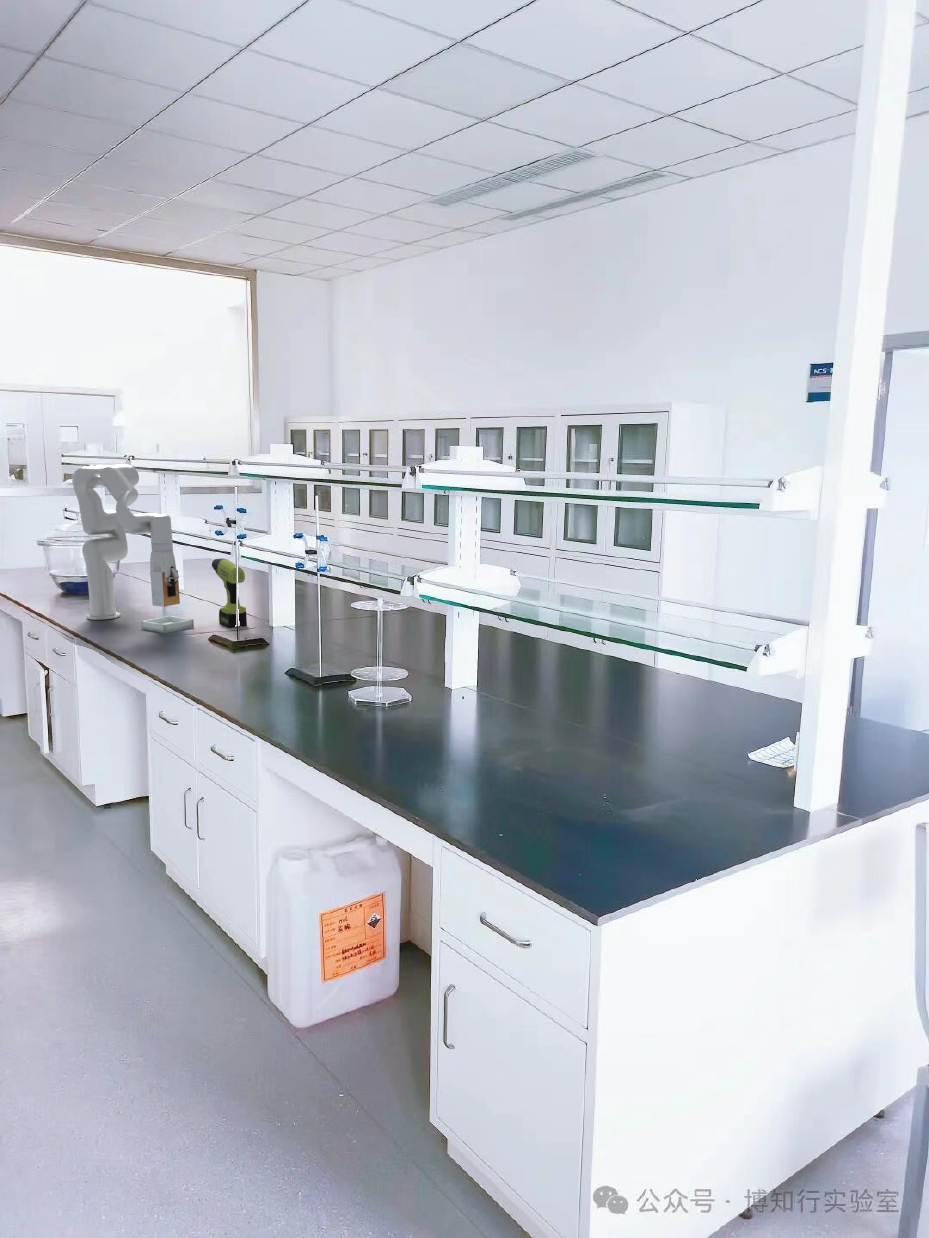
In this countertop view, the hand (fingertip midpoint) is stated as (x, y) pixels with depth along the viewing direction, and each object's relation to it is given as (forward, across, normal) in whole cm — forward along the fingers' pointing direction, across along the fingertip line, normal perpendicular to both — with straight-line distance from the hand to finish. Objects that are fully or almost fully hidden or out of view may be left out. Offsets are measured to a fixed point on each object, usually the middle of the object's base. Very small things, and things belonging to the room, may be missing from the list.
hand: (165, 595), depth 342 cm
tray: (+13, 0, 0) cm, 13 cm away
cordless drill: (+13, +12, +19) cm, 26 cm away
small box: (+4, 0, 0) cm, 4 cm away
